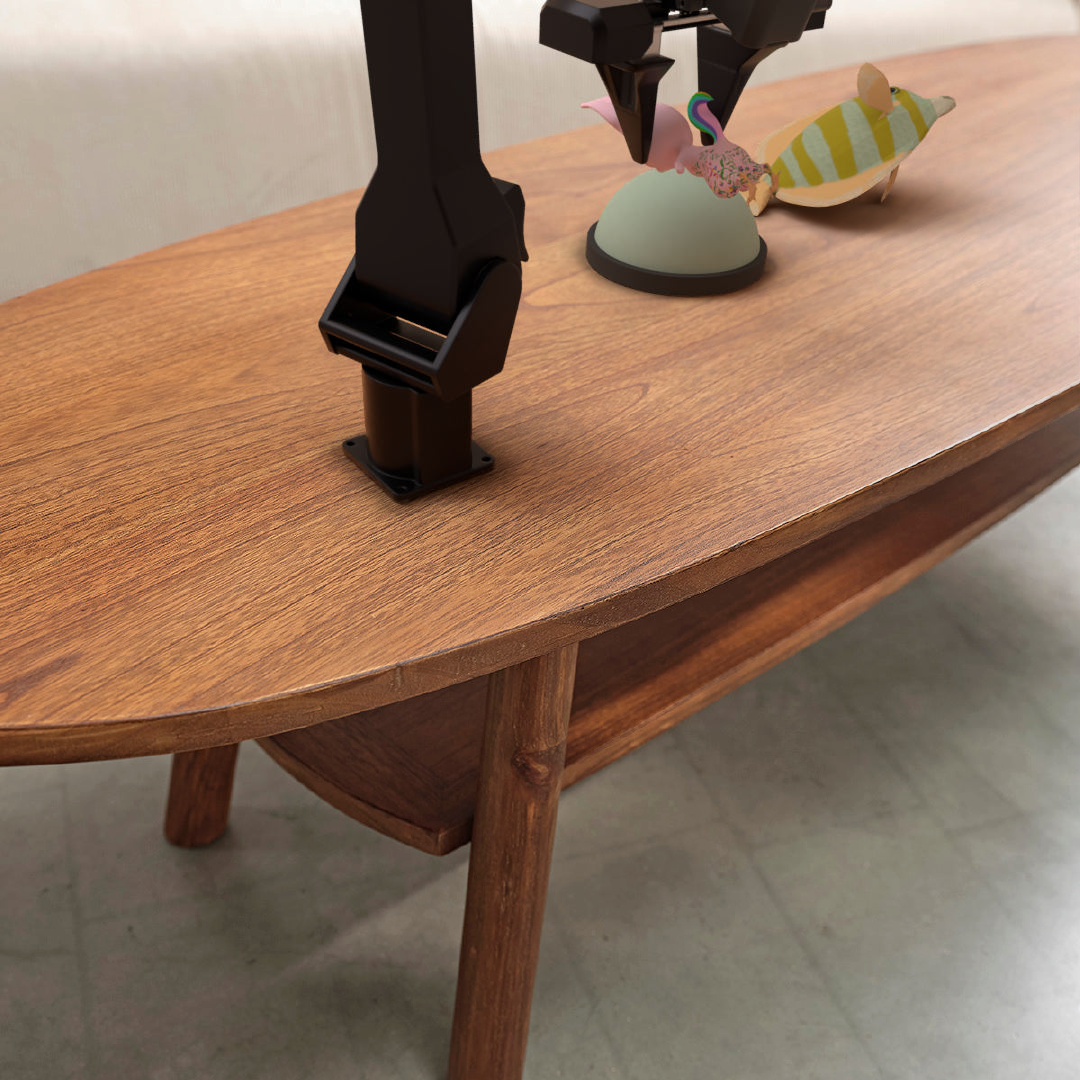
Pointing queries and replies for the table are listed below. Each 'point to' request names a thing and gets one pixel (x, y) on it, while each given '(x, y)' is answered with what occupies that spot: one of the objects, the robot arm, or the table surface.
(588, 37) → the robot arm
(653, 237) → the dome on round base
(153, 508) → the table surface
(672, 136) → the rabbit figure
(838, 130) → the decorative fish sculpture
